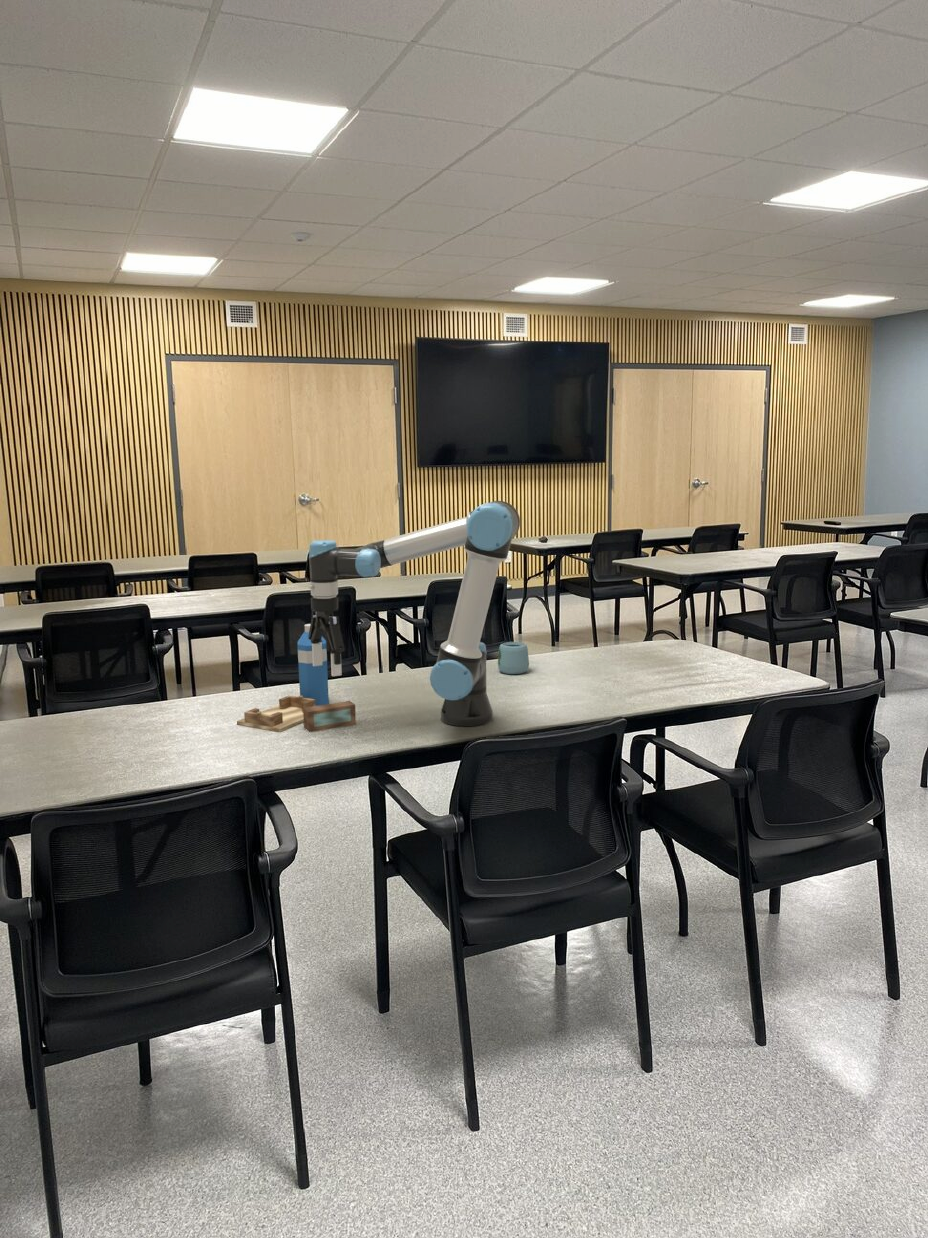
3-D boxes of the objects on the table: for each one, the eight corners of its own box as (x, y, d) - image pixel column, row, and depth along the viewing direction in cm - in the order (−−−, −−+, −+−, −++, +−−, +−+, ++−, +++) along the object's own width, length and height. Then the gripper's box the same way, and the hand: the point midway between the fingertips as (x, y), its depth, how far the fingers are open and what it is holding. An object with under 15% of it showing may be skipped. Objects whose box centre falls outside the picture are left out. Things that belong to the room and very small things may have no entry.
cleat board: (324, 713, 269) (323, 698, 268) (280, 732, 252) (279, 716, 251) (282, 706, 276) (281, 692, 275) (236, 724, 259) (236, 709, 258)
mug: (494, 666, 324) (493, 639, 322) (524, 664, 325) (524, 637, 324) (500, 676, 310) (500, 648, 308) (531, 675, 311) (531, 646, 309)
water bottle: (323, 708, 274) (320, 628, 269) (294, 707, 275) (290, 627, 271) (333, 700, 283) (330, 622, 278) (305, 699, 284) (302, 621, 280)
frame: (349, 720, 262) (349, 700, 261) (356, 724, 258) (355, 704, 257) (303, 728, 255) (302, 708, 254) (309, 732, 251) (308, 712, 250)
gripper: (295, 591, 258) (298, 663, 262) (329, 604, 237) (332, 681, 241) (319, 589, 262) (322, 660, 266) (355, 601, 241) (357, 678, 245)
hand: (326, 670), depth 254 cm, fingers open, 13 cm apart
